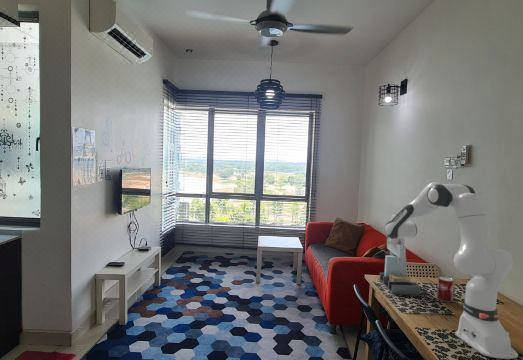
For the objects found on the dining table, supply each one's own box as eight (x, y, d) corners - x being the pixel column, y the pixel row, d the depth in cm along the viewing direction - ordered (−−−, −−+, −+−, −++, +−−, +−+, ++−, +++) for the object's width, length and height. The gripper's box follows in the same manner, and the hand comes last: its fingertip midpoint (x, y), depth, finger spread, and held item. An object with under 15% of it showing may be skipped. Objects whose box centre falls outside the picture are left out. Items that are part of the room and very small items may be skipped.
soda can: (448, 297, 173) (449, 276, 172) (454, 303, 166) (456, 281, 165) (434, 296, 174) (436, 275, 173) (440, 302, 166) (442, 280, 166)
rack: (420, 295, 175) (420, 286, 175) (391, 293, 175) (392, 285, 175) (403, 280, 197) (403, 272, 196) (378, 279, 197) (378, 271, 197)
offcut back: (407, 285, 185) (407, 276, 184) (390, 285, 185) (390, 275, 185) (405, 284, 187) (405, 274, 187) (388, 283, 188) (389, 274, 187)
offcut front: (409, 288, 181) (410, 278, 181) (392, 287, 181) (393, 277, 181) (407, 286, 184) (408, 277, 183) (391, 286, 184) (391, 276, 184)
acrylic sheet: (404, 282, 190) (406, 257, 189) (385, 281, 190) (386, 256, 189) (403, 281, 193) (404, 256, 192) (384, 280, 193) (385, 255, 192)
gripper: (409, 243, 179) (407, 266, 180) (395, 235, 200) (393, 255, 201) (398, 243, 180) (397, 266, 181) (385, 234, 200) (384, 255, 201)
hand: (395, 260), depth 191 cm, fingers open, 8 cm apart
